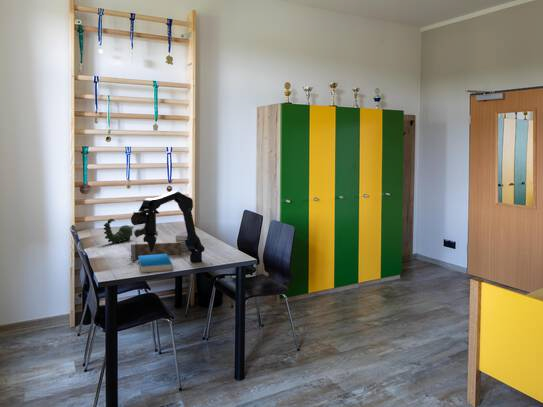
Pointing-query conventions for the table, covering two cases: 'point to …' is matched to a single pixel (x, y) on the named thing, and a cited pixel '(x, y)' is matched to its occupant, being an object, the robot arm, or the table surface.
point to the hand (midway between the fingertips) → (151, 251)
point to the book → (155, 262)
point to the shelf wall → (159, 249)
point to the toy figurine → (122, 234)
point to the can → (182, 241)
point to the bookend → (134, 250)
